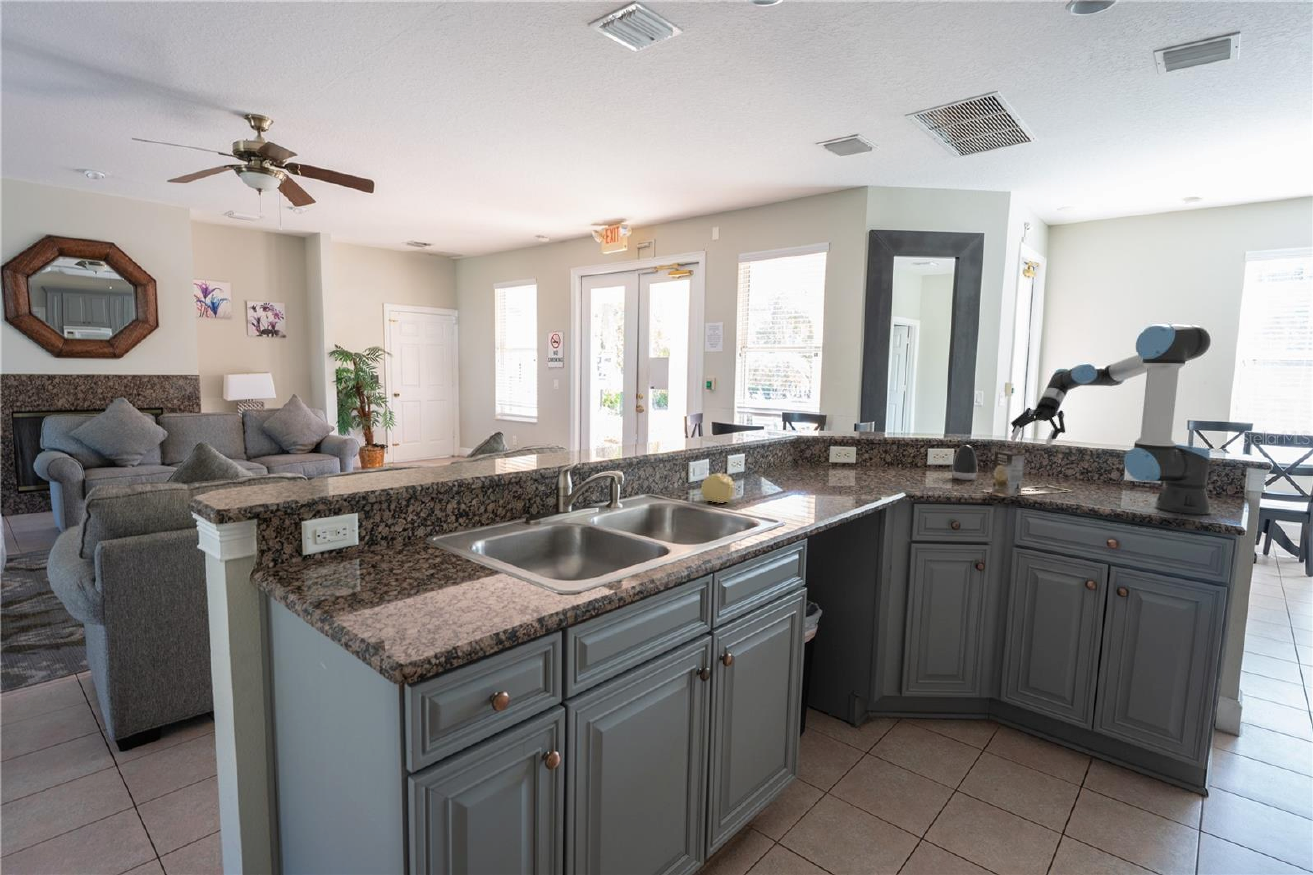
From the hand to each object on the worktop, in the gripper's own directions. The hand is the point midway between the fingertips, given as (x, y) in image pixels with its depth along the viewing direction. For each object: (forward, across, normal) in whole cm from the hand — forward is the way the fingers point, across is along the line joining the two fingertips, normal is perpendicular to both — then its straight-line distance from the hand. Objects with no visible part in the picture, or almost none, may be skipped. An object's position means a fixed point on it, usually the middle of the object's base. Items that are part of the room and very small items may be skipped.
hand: (1029, 442), depth 262 cm
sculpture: (+95, +49, +76) cm, 132 cm away
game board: (+16, -2, -11) cm, 20 cm away
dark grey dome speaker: (+14, +27, -15) cm, 34 cm away
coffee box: (+23, +1, -3) cm, 24 cm away
